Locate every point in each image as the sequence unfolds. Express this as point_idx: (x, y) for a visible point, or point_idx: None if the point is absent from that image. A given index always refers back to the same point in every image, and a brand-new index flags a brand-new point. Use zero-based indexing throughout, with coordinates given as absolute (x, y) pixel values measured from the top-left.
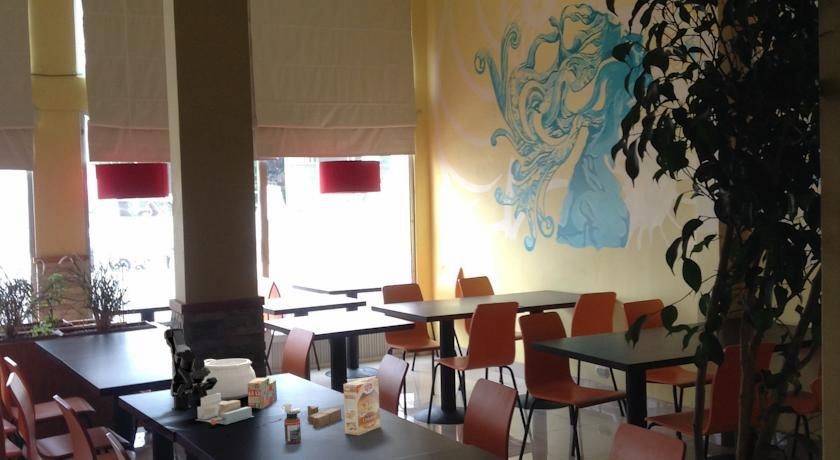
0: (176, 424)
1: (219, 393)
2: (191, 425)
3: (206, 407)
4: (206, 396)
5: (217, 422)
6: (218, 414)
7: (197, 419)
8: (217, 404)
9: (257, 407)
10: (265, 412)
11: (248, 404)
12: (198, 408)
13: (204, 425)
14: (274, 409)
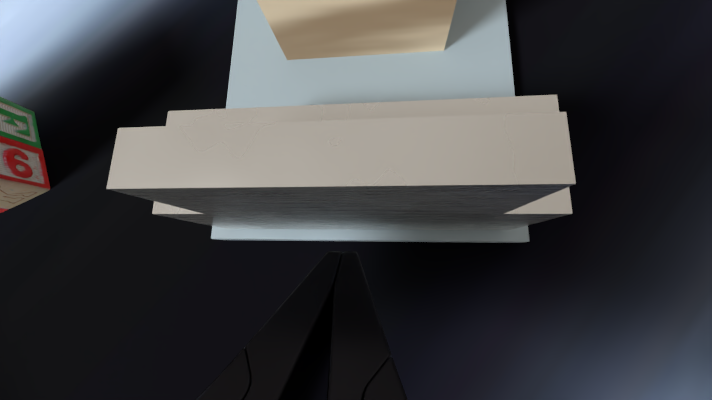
0: (677, 346)
1: (129, 145)
2: (611, 183)
3: (507, 98)
4: (434, 153)
5: (491, 9)
6: (452, 10)
7: (509, 234)
8: (331, 105)
9: (21, 129)
10: (100, 27)
11: (5, 177)
12: (559, 197)
13: (549, 91)
14: (22, 40)
